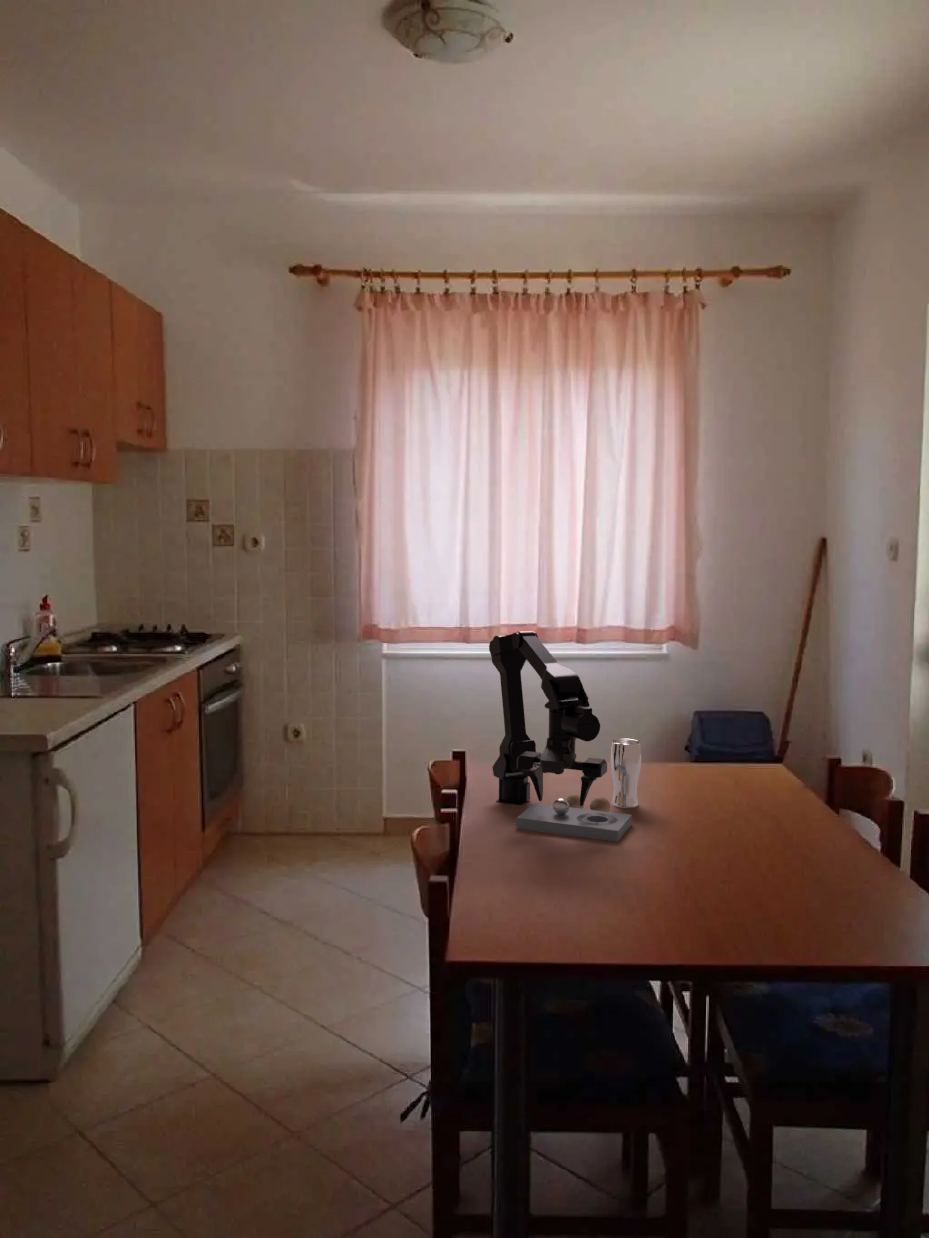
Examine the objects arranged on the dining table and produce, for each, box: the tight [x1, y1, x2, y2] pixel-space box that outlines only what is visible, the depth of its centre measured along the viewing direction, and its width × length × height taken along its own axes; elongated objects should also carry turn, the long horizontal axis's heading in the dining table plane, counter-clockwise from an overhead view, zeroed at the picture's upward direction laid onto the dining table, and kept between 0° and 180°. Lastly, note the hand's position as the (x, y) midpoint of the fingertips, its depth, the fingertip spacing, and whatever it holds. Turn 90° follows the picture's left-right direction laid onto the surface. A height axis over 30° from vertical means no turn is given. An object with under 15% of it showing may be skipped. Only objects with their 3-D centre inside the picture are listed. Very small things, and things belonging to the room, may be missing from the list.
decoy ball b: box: [589, 795, 611, 812], centre depth 208 cm, size 4×4×4 cm
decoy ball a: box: [564, 792, 585, 809], centre depth 210 cm, size 4×4×4 cm
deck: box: [515, 802, 633, 843], centre depth 200 cm, size 22×12×2 cm, turn 67°
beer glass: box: [610, 738, 642, 809], centre depth 216 cm, size 7×7×15 cm
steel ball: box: [552, 797, 569, 815], centre depth 201 cm, size 4×4×4 cm
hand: (560, 803), depth 201 cm, fingers open, 9 cm apart
